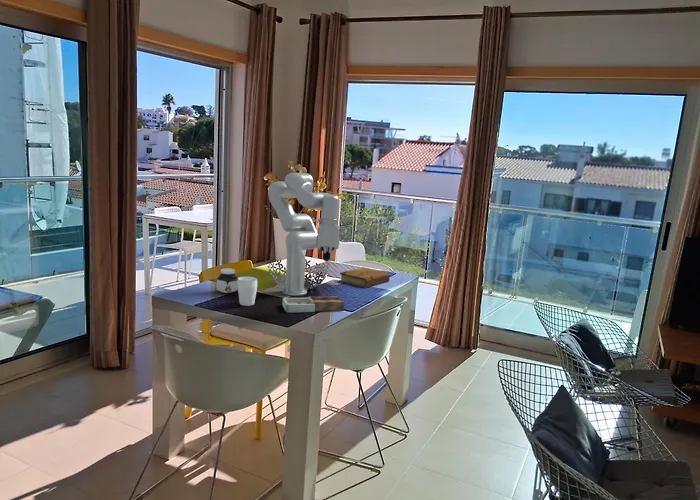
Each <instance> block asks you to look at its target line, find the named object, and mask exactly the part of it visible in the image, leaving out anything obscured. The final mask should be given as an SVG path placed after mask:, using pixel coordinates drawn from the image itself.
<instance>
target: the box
mask: <svg viewBox="0 0 700 500" xmlns="http://www.w3.org/2000/svg"><path fill="white" fill-rule="evenodd" d="M306 298H307V297H283V298H282V304H281V305H282V307H283V309H284V311H285V312H286V313H315V312H316V311H315V304H301V303H302V302H303V301H304V300H305V299H306ZM288 303H298V304H288Z"/></svg>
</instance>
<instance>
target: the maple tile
mask: <svg viewBox="0 0 700 500" xmlns="http://www.w3.org/2000/svg"><path fill="white" fill-rule="evenodd" d="M310 297H311V296H308V297H305V298H306V299H305V300H304V301H303V302H302V303H301V304H314V302H313V300H312V299H311V298H310Z"/></svg>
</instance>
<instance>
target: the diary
mask: <svg viewBox="0 0 700 500" xmlns="http://www.w3.org/2000/svg"><path fill="white" fill-rule="evenodd" d="M339 274H340V275H341V277H340V278H341V280H339V282H341V283H345V284H348V285H352V286H357V287H360V288H365V289H368V288H372V287H374V286H379V285H382V284H384V283H385V284H386V283H387V282H390V273H389V272H386V271H383V270H377V269H373V268H367V267H363V266H362V267H359V268H358V267H357V268H355V269H350V270H346V271H342V272H340V273H339ZM381 283H382V284H381Z"/></svg>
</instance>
